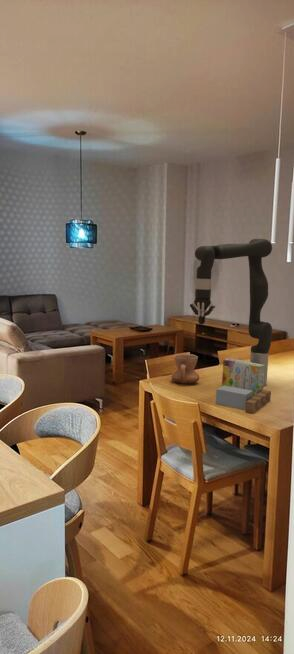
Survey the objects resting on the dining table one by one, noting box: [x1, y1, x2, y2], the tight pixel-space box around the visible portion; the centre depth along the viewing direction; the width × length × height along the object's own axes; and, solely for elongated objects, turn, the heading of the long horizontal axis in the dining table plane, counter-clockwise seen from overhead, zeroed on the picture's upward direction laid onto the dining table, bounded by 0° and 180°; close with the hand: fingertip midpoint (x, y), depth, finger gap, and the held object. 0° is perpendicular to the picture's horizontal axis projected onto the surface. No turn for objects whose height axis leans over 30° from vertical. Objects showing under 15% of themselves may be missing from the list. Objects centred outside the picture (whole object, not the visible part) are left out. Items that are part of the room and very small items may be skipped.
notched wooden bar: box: [244, 389, 272, 415], centre depth 211 cm, size 24×4×4 cm, turn 148°
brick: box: [215, 385, 254, 411], centre depth 212 cm, size 8×14×7 cm, turn 56°
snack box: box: [221, 357, 265, 397], centre depth 234 cm, size 21×6×15 cm, turn 44°
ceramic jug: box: [171, 353, 200, 385], centre depth 247 cm, size 18×14×14 cm
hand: (201, 324), depth 230 cm, fingers closed
